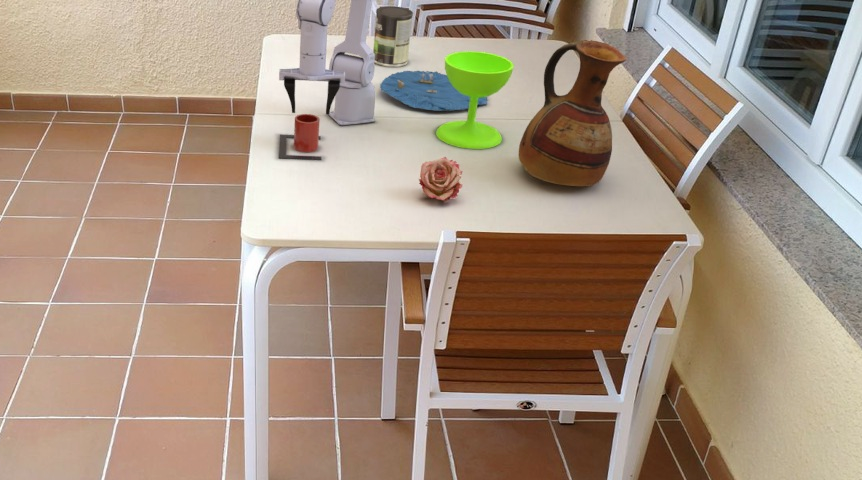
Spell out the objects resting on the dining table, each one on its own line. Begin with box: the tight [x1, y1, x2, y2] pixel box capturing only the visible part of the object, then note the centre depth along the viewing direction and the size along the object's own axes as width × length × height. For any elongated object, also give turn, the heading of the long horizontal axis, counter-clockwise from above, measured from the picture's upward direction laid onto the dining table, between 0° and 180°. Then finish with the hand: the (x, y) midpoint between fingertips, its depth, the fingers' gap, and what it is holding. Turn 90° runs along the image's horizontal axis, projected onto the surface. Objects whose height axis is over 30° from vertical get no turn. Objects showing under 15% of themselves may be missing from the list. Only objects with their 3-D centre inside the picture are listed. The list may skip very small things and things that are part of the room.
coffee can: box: [372, 5, 414, 68], centre depth 274 cm, size 10×10×14 cm
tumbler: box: [293, 113, 320, 153], centre depth 221 cm, size 6×6×7 cm
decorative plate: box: [379, 70, 488, 112], centre depth 256 cm, size 30×30×5 cm
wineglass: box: [435, 50, 515, 150], centre depth 229 cm, size 16×16×18 cm
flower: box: [418, 156, 463, 203], centre depth 203 cm, size 10×9×8 cm
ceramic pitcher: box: [518, 39, 627, 187], centre depth 209 cm, size 20×20×30 cm
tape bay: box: [278, 134, 322, 161], centre depth 223 cm, size 10×14×1 cm
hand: (310, 112), depth 218 cm, fingers open, 7 cm apart
